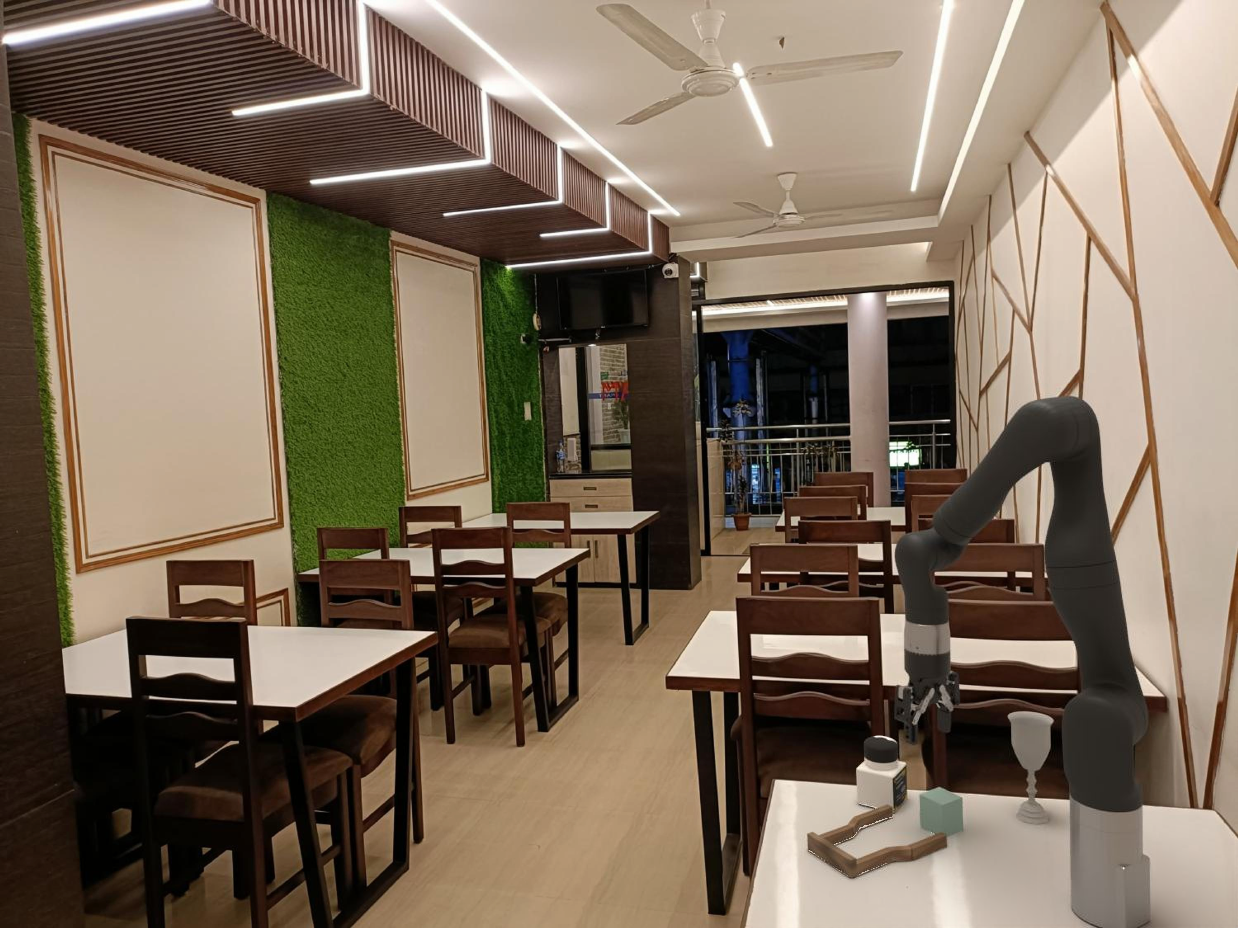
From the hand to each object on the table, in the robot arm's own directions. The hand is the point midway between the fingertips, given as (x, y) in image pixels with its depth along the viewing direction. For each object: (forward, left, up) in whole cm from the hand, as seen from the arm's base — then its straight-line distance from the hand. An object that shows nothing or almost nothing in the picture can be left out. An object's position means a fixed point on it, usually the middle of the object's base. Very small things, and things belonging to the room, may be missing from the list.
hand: (928, 737), depth 152 cm
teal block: (-1, -2, -17) cm, 17 cm away
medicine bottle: (+12, -1, -17) cm, 21 cm away
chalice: (-7, -18, -17) cm, 26 cm away
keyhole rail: (+1, +12, -17) cm, 21 cm away
